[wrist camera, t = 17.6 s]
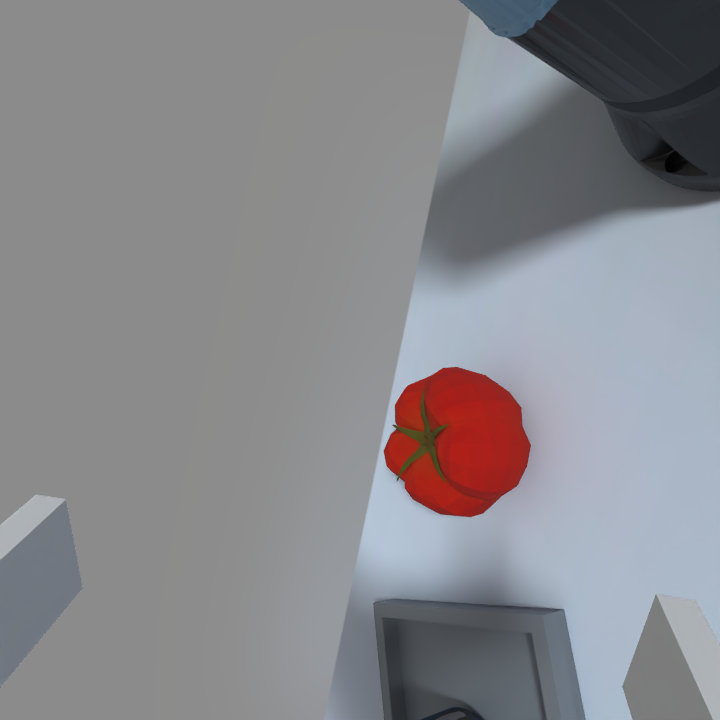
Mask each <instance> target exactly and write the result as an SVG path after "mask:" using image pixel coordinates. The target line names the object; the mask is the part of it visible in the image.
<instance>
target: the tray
mask: <svg viewBox="0 0 720 720" xmlns="http://www.w3.org/2000/svg"><path fill="white" fill-rule="evenodd" d="M373 604H374V615H375V625H376V636H377V646H378V657H379V667H380V678H381V688H382V699H383V710H384V720H420V719H423V718H425V717H428V716H431V715H433V714H436V713H438V712H441V711H444V710H446V709H449V708H452V707H460V708H464V709H467V710H469V711H471V712H473V713H475V714H477V715H479V716H481V717H482V718H483V719H484V720H585V715H584V710H583V705H582V700H581V695H580V690H579V684H578V679H577V674H576V669H575V664H574V659H573V654H572V649H571V643H570V638H569V633H568V628H567V623H566V618H565V613H564V610H560V609H544V608H529V607H513V606H497V605H481V604H465V603H449V602H434V601H418V600H402V599H390V600H385V601H380V602H375V603H373Z"/></svg>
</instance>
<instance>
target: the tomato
mask: <svg viewBox="0 0 720 720" xmlns="http://www.w3.org/2000/svg"><path fill="white" fill-rule="evenodd" d="M395 422H396V424H397V425H398V426H396V425H393V426H394V427H395V428H397V429H396V430H395V431H394V432H392V433H391V435H390V438H389V440H388V442H387V444H386V447H385V449H384V455H385V460H386V465H387V467H388V468H389V469H390V470H391V471H392V472H393V473H395V474H396V475H397V476H398V478H397V481H398V479H399V478H401V479H402V480H403V481H404V482H405V489H406V490H407V492H408V493H409V494H410V496H411V497H412V498H413V499H414V500H415V501H417V502H419V503H421V504H422V505H424V506H426V507H428V508H430V509H432V510H433V511H435V512H437V513H439V514H444V515H454V516H466V517H472V516H476V515H479V514H482V513H484V512H485V511H486V510H487V509H488V508H490V507H491V506H492V505H493V504H494V503H495V502H496V501H497V500H498V499H499V498H500V497H501V496H503V495H504V494H506V493H507V492H509V491H510V490H512V489H513V488H514V487H516V486H517V485H518V484H519V481H520V479H521V477H522V475H523V473H524V471H525V469H526V467H527V463H528V458H529V452H530V447H531V445H530V442H529V440H528V438H527V436H526V433H525V431H524V429H523V426H522V412H521V407H520V405H519V404H518V403H517V402H516V400H515V399H514V398H513V396H512V395H511V394H510V392H508V391H507V390H506V389H504V388H503V387H501V386H500V385H498V384H497V383H496V382H494V381H493V380H491V379H490V378H489V377H487V376H486V375H482V374H479V373H475V372H472V371H469V370H465V369H462V368H458V367H451V368H442V369H441V370H439V371H438V372H436V373H435V374H433V375H431V376H429V377H427V378H425V379H422V380H420V381H418V382H415V383H413V384H410V385H408V386H407V387H406V389H405V390H404V391H403V393H402V394H401V396H400V397H399V399H398V401H397V403H396V404H395ZM397 481H396V482H397Z"/></svg>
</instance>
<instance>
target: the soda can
mask: <svg viewBox="0 0 720 720" xmlns="http://www.w3.org/2000/svg"><path fill="white" fill-rule="evenodd" d="M420 720H484V719H483V718H482V717H481V716H479V715H477V714H475V713H473V712H471V711H469V710H467V709H464V708H460V707H452V708H449V709H446V710H444V711H441V712H438V713H436V714H433V715H431V716H428V717H425V718H423V719H420Z"/></svg>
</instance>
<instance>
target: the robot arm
mask: <svg viewBox="0 0 720 720" xmlns="http://www.w3.org/2000/svg"><path fill="white" fill-rule="evenodd" d="M459 1H460V2H461V3H463V4H464V5H465V6H466V7H467V8H468V9H470V10H471V11H472V12H473V13H474V14H475V15H477V16H478V17H479V18H480V19H481V20H482V21H483V22H484V23H485V25H486V26H487V27H488V28H489V30H490V31H492V32H493V33H494V34H495V35H498V36H501V37H507V38H508V39H510V40H511V41H513V42H514V43H516V44H517V45H519V46H521V47H522V48H524V49H525V50H527V51H528V52H530V53H531V54H533V55H534V56H536V57H537V58H539V59H540V60H542V61H543V62H545V63H546V64H548V65H549V66H551V67H552V68H554V69H556V70H557V71H559V72H560V73H562V74H563V75H565V76H566V77H568V78H569V79H571V80H572V81H574V82H575V83H577V84H578V85H580V86H581V87H583V88H584V89H586V90H587V91H589V92H591V93H592V94H594V95H595V96H597V97H598V98H600V99H601V100H603V101H604V103H605V106H606V108H607V110H608V112H609V114H610V117H611V119H612V121H613V123H614V126H615V128H616V130H617V132H618V135H619V137H620V139H621V141H622V143H623V145H624V146H625V148H626V150H627V151H628V152H629V153H630V155H631V156H632V157H633V158H634V159H635V160H636V161H637V162H638V163H639V164H640V165H641V166H643V167H644V168H646V169H647V170H649V171H650V172H652V173H654V174H655V175H657V176H658V177H660V178H662V179H664V180H665V181H667V182H669V183H672V184H674V185H677V186H680V187H683V188H688V189H692V190H699V191H720V0H459ZM81 590H82V582H81V577H80V572H79V566H78V561H77V556H76V550H75V545H74V540H73V535H72V529H71V524H70V519H69V513H68V508H67V503H66V499H59V498H54V497H47V496H40V495H35V496H34V497H33V498H32V499H30V500H29V501H28V502H27V503H26V504H25V505H24V506H22V507H21V508H20V509H19V510H17V511H16V512H15V513H14V514H13V515H12V516H10V517H9V518H8V519H7V520H6V521H4V522H3V523H2V524H1V525H0V687H1V686H2V685H3V684H4V682H5V681H6V680H7V679H8V678H9V676H10V675H11V674H12V673H13V672H14V670H15V669H16V668H17V667H18V666H19V664H20V663H21V662H22V661H23V659H24V658H25V657H26V656H27V655H28V653H29V652H30V651H31V650H32V649H33V647H34V646H35V645H36V644H37V643H38V641H39V640H40V639H41V638H42V637H43V635H44V634H45V633H46V632H47V630H48V629H49V628H50V627H51V626H52V624H53V623H54V622H55V621H56V620H57V619H58V617H59V616H60V615H61V614H62V613H63V611H64V610H65V609H66V608H67V606H68V605H69V604H70V603H71V602H72V600H73V599H74V598H75V597H76V596H77V594H78V593H79V592H80V591H81ZM622 687H623V690H624V693H625V696H626V699H627V703H628V706H629V709H630V712H631V715H632V719H633V720H720V644H719V643H718V641H717V639H716V637H715V635H714V633H713V631H712V629H711V628H710V626H709V624H708V622H707V620H706V618H705V616H704V614H703V613H702V611H701V609H700V607H699V605H698V603H697V601H696V600H690V599H683V598H677V597H671V596H665V595H658V594H656V596H655V599H654V601H653V604H652V607H651V610H650V612H649V615H648V618H647V621H646V623H645V626H644V629H643V632H642V634H641V637H640V640H639V643H638V645H637V648H636V651H635V654H634V656H633V659H632V662H631V664H630V667H629V670H628V673H627V675H626V678H625V681H624V684H623V686H622Z"/></svg>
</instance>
